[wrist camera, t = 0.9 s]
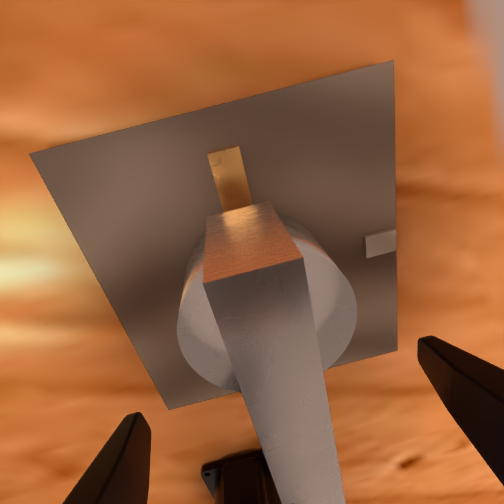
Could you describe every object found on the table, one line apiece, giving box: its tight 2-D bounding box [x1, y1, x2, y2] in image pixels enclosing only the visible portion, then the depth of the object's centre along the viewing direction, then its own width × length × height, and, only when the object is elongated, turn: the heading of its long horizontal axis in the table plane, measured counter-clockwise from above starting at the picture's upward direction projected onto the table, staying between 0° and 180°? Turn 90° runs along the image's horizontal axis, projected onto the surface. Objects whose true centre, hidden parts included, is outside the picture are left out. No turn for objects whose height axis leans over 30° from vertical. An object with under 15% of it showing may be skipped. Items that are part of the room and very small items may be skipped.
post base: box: [29, 60, 398, 410], centre depth 16 cm, size 16×15×2 cm
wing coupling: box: [177, 144, 357, 504], centre depth 11 cm, size 12×7×8 cm, turn 13°
